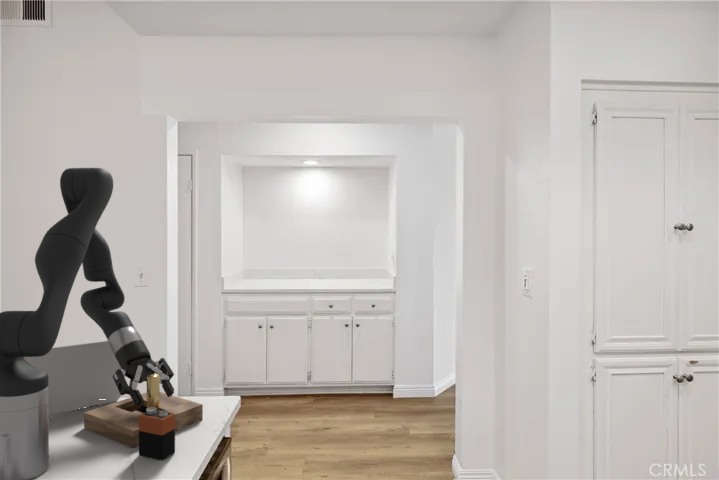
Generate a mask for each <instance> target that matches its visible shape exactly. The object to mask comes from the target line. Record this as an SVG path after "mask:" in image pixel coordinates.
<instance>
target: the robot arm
mask: <svg viewBox="0 0 719 480" xmlns="http://www.w3.org/2000/svg"><path fill="white" fill-rule="evenodd" d="M59 186H60V193H61V197H62V201H63V202H64V205H65V210H66V212H67V215H65V216H64V217H62V218H61V219H60V220H59V221H57V222H56V223H55V224H53V225H52V226H51V227H50V228H49V229H48V230H47V231H45V232H46V233H45V234H44V236H43V237H42V240H41V242H40V244H39V245H38V248H37V250H36V253H35V257H34V265H35V267H36V271H37V274H38V277H39V279H40V282H41V284H42V289H43V293H42V297H41V301H40V303H39V305H38V308H37V309H36V310H5V311H4V310H3V311H2V312H0V480H31V479H34V478H36V477H39V476H40V475H41V474H44V473H45V472H47V470H48V469H49V467H50V466H49V465H50V453H49V452H50V448H49V445H50V443H49V441H50V438H49V437H50V436H49V434H50V433H49V431H50V429H49V428H50V427H49V416H50V415H49V403H48V400H49V396H48V374H47V372H46V371H44V370H42V369H39V368H37V367H34V366H32V365H31V364H29V363H28V362H27V361H26V360H25V359H24V357H39V356H44V355H46V354H47V353H48V352H49V351H50V350H51V349H52V347H53V346H54V344H55V343H56V341H57V339H58V336H59V334H60V329H61V326H62V322H63V318H64V315H65V310H66V307H67V303H68V300H69V296H70V294H71V291H72V290H73V289H72V288H73V286H74V283H75V280H76V279H77V276H78V272H79V270H80V268H81V266H82V270H83V276H84V279H85V280H86V281H88V282H92V283H93V282H94V283H95V282H96V283H97V282H98V283H99V282H100V283H101V282H104V283H105V285H103V286H100V287H98V288H92V289H89V290H85V292H83V293H82V295H81V297H80V307H81V309H82V310H83V312H84V313H85V314H86V315H87V316H88V318H90V319H91V320H93V322H94V323H95V324H97V326H98V327H99V328H100V329H101V330H102V332H103V334H104V335H105V336H104V337H106V338H107V340H108V342H109V344H110V347H111V350H112V352H113V353H114V355H115V357H116V359H117V361H118V363H119V365H120V367H121V369H122V371H121V370H120V369H118V370H117V371H116V372H115V373H114V375H113V379H114V381H115V384H116V386H117V388H118V390H119V393H120V395H121V396H124V395H129V396H130V398H132V400H133V402H134V404H135V405H137V406H138V407H141V406H142V405H143V404H144V399H143V397H142V395H141V394H142V393H141V392H140V390H139V389H138V384H142V383H144V382H147V376H148V375H151V374H159V375H160V385H161V387H162V389H163V392H164V393H165V394H166V395H167V396H168V397H170V396H174V395H173V394H175V388H174V387H173V385H172V383H171V379H172V378H173V377H174V376H175V373H174V371H173V369H171V367H170V365H169V364H168V362H167V361H166V359H165V358H163V357H161V358H160V359H159V360H157V361H154V360H153V359H152V356H151V352H150V351H149V349H148V347H147V345H146V344H145V342H144V340H143V338H142V336H141V334H140V333H139V331H138V330H137V329H136V327H135V326H134V324H133V321H132V320H131V319H130V317H129V315H128V314H127V313H126V312H125V311H120V310H119V311H118V309H120V308H121V307H123V305H124V303H125V293H124V292H123V290H122V288H121V285H120V283H119V281H118V279H117V277H116V274H115V272H114V268H113V267H114V266H113V260H112V253H111V249H110V246H109V244H108V242H107V241H106V239H105V237H103V235H102V234H101V232H100V231H99V230H98V229H97V225H98V224H99V221H100V219H101V217H102V215H103V213H104V212H105V210H106V208H107V206H108V204H109V202H110V200H111V198H112V194H113V191H114V178H113V174H111V172H110V171H109V170H107V169H106V168H102V167H101V168H100V167H72V168H71V167H69V168H66V169H65V170H64V171H63V172H62V173H61V175H60V179H59ZM115 310H117V311H115ZM126 378H128V379H130V380H129V384H128V382H127V380H126Z"/></svg>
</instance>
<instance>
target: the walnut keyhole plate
mask: <svg viewBox="0 0 719 480" xmlns="http://www.w3.org/2000/svg"><path fill="white" fill-rule="evenodd" d="M140 394H141V395H142V397H143V399H144V404H143V405H142V406H141V407H138V406H137V405H135V404H134V402H133V400H132V398H131V397H129V398H125V399H123V400H117V401H115V402H113V403H109V404H105V405H102V406H101V407H97V408H94V409H91V410H88V411H85V412H83V429H85V430H87V431H90V432H93V433H95V434H97V435H100V436H103V437H104V438H107V439H110V440H113V441H115V442H117V443H120V444H121V445H124V446H128V447H130V448H133V449H135V448H137V447H139V415H141V414H143V413H144V412H142V411H144V410H145V411H146V409H147V392H144V393H140ZM203 405H204V404H203V403H199V402H197V401H192V400H189V399H186V398H182V397H178V396H175V395H172V396H170V397H168V396H167V395H166V393H165V392H162V391H160V411H167V412H170V413H174V414H175V432H176V431H178V430H180V429H183V428H185V427H188V426H190V425H193V424H194V423H197V422H199V421H200V422H201V421H202V420H203V415H204V414H203Z"/></svg>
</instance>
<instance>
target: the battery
mask: <svg viewBox="0 0 719 480" xmlns="http://www.w3.org/2000/svg"><path fill="white" fill-rule="evenodd" d="M142 413H143V414H141V415H139V446H138V455H139V456H142V457H145V458H151V459H155V460H159V461H164V460H165V459H166V458H168V457H170V456H172V454H175V452H176V431H175V414H174V413H170V412H167V411H159V410H156V408H155V407H154V408H148V409H145V412H142Z"/></svg>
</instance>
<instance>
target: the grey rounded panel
mask: <svg viewBox="0 0 719 480" xmlns="http://www.w3.org/2000/svg"><path fill="white" fill-rule="evenodd" d="M24 359H25V360H26V361H27V362H28V363H29V364H31V365H32V366H34V367H37V368H39V369H42V370H44V371H46V372H47V374H48V396H49V400H48V403H49V416H53V415H58V414H63V412H64V413H68V412H67V411H69V412H72V411H71V410H74V411H77V410H76V409H79V408H84V407H89V408H91V407H90V406H94V407H96V406H95V405H99V406H102V405H101V404H104V405H106V404H105V403H109V404H112V403H115V402H118V401H119V399H120V398H121V397H122V395H120V393H119V390H118V388H117V386H116V384H115V381H114V379H113V375H114V373H115V372H116V371H117V370H118V369H120V370H121V371H122V369H121V367H120V365H119V363H118V361H117V359H116V357H115V355H114V353H113V352H112V350H111V347H110V344H109V342H108V340H107V338H106V336H104V337H98V338H89V339H82V340H81V339H80V340H74V341H73V340H72V341H65V342H64V341H63V342H57V343H56V342H55V344H54V346H53V347H52V349H51V350H50V351H49V352H48V353H47V354H46V355H44V356H39V357H24ZM99 399H106V400H99ZM84 409H85V408H84ZM79 410H80V409H79Z"/></svg>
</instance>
